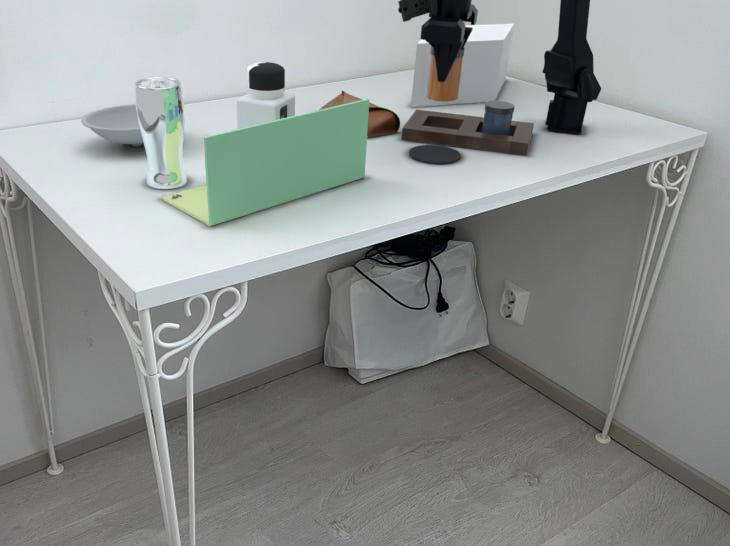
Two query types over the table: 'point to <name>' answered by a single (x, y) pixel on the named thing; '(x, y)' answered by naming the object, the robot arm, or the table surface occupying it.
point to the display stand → (278, 162)
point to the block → (470, 66)
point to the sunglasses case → (371, 116)
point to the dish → (115, 124)
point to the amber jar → (451, 85)
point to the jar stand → (465, 132)
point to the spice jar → (498, 117)
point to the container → (264, 96)
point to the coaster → (434, 154)
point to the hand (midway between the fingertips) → (444, 77)
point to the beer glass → (162, 130)
